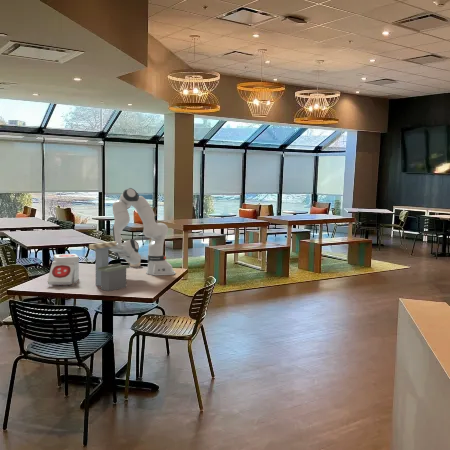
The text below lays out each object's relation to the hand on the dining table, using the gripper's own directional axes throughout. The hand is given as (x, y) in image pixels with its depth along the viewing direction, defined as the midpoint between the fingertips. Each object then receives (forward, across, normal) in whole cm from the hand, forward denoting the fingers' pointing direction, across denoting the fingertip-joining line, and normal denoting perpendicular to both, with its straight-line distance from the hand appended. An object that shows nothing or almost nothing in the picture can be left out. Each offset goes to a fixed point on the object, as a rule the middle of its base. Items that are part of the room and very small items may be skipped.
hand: (111, 244), depth 348 cm
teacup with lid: (-64, -35, -5) cm, 73 cm away
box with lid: (-4, +13, +29) cm, 32 cm away
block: (+6, 0, +5) cm, 8 cm away
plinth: (-6, 0, +28) cm, 29 cm away
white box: (+4, -26, +34) cm, 43 cm away
